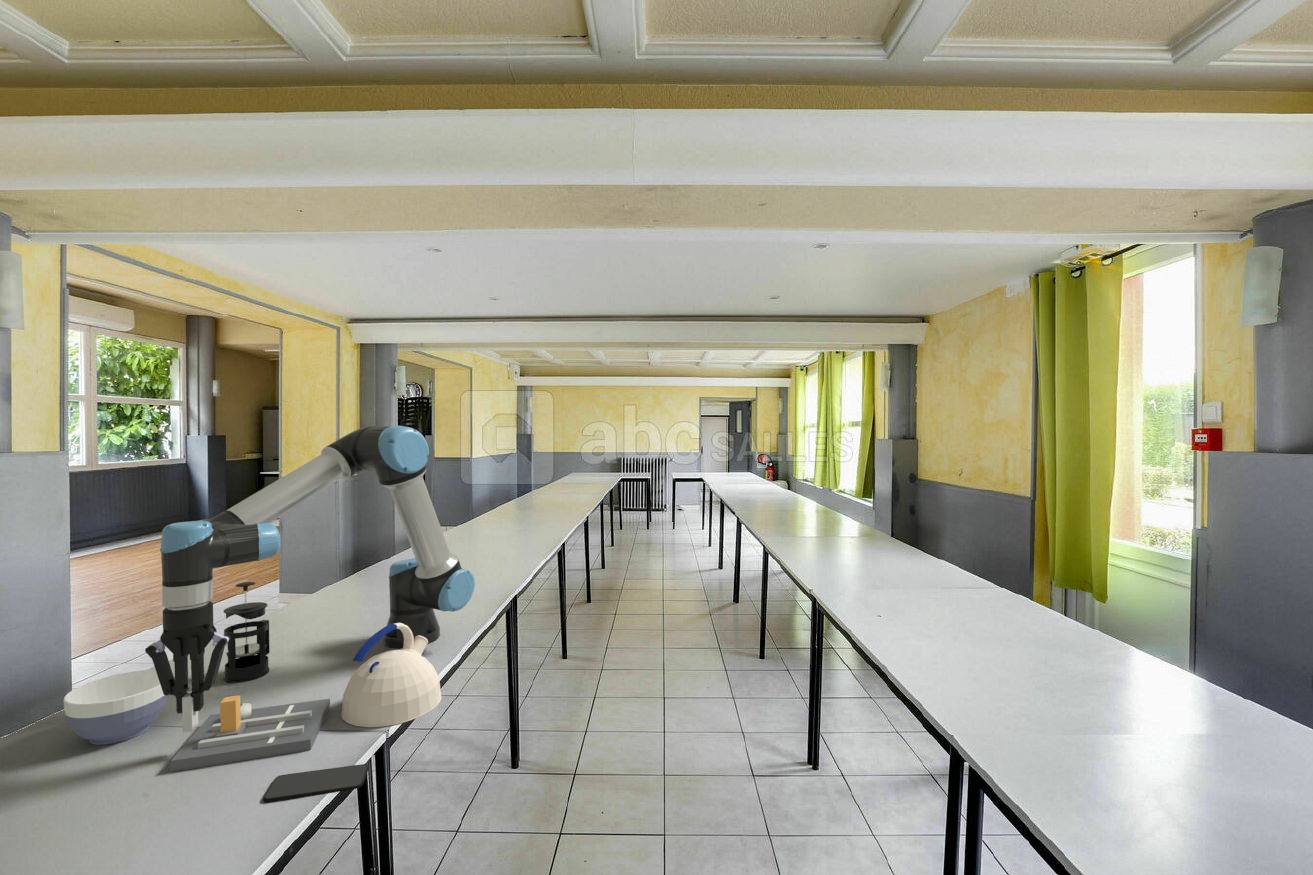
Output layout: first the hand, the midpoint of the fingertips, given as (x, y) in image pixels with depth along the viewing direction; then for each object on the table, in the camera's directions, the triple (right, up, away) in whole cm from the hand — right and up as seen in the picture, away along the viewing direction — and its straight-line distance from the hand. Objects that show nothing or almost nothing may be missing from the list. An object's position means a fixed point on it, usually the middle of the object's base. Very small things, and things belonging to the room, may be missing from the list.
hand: (190, 727), depth 112 cm
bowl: (-20, -5, +7) cm, 22 cm away
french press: (-14, -4, +36) cm, 38 cm away
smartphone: (+30, -5, -10) cm, 32 cm away
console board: (+9, -4, +5) cm, 12 cm away
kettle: (+30, -4, +19) cm, 36 cm away
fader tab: (+6, -2, +2) cm, 7 cm away
